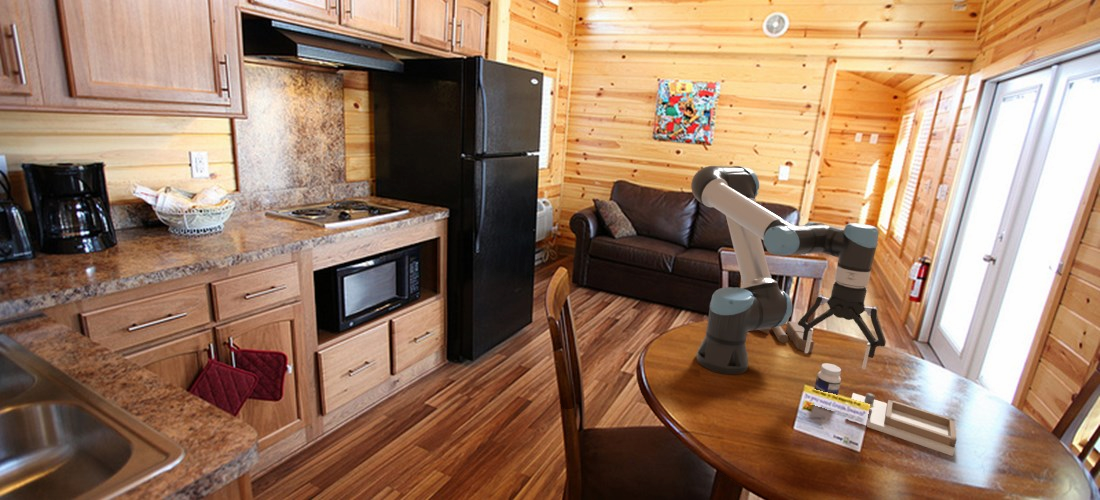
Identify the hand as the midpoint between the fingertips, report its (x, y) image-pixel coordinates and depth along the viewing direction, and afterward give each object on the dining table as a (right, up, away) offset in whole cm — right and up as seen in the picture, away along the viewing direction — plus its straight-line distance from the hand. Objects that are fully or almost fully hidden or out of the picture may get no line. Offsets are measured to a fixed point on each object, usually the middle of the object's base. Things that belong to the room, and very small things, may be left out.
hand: (834, 359), depth 134 cm
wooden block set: (+5, -3, +42) cm, 43 cm away
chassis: (+13, -15, -6) cm, 21 cm away
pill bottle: (-1, -12, +4) cm, 13 cm away
